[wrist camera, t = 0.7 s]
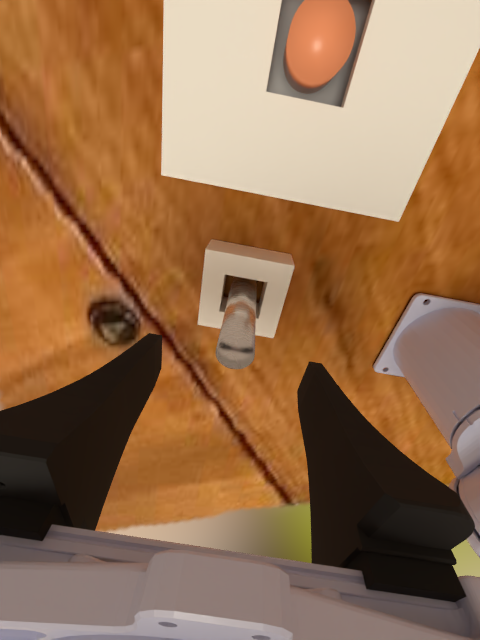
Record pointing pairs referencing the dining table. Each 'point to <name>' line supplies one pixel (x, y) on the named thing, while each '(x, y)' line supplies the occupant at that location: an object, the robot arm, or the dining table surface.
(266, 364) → the dining table surface
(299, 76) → the button
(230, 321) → the stylus
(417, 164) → the white slotted stand
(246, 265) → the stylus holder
